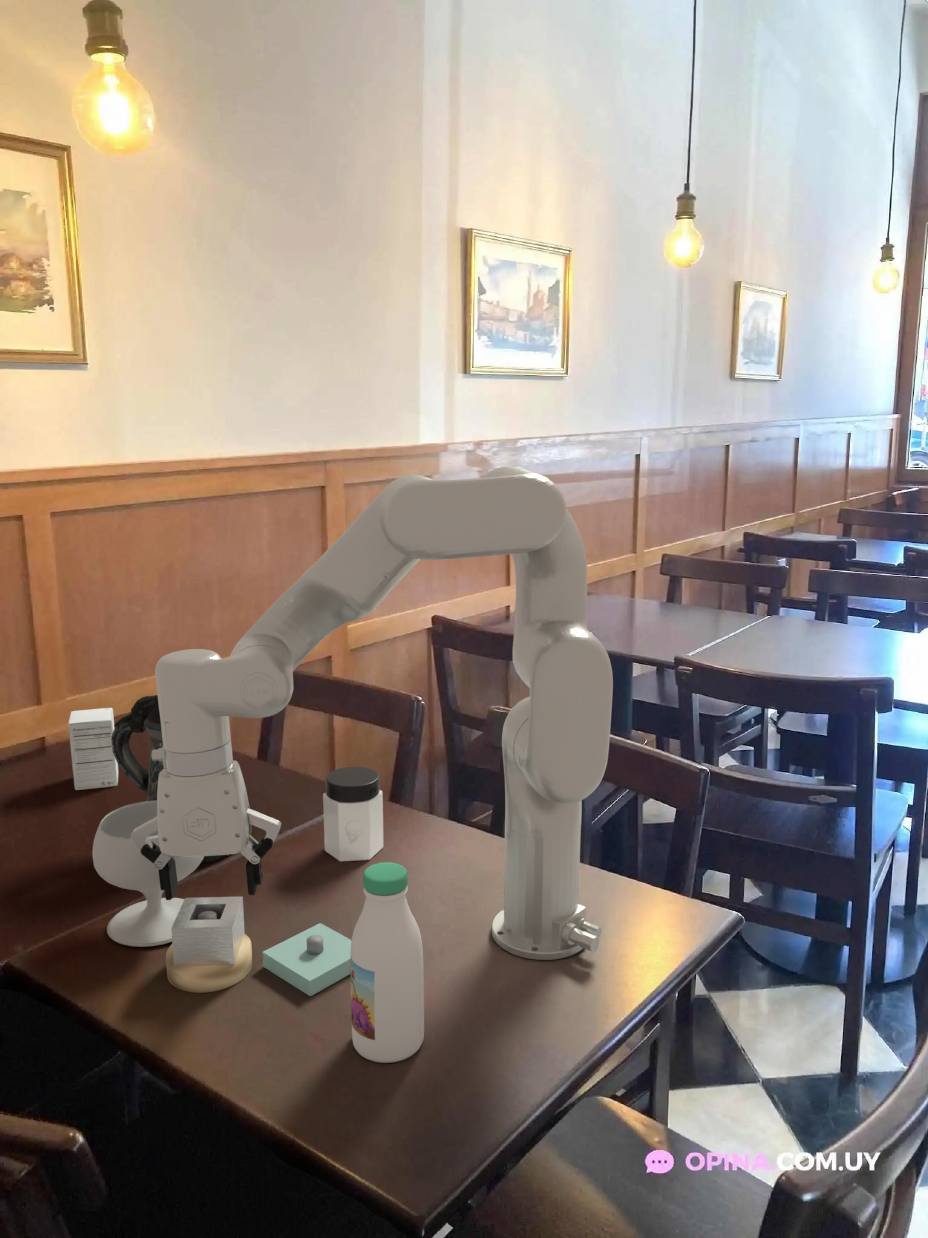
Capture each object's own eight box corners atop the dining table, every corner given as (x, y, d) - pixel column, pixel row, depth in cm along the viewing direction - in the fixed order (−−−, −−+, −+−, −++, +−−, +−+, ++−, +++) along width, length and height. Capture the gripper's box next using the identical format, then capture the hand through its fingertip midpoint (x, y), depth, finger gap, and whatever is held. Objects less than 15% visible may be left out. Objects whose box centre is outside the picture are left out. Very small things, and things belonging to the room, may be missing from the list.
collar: (234, 965, 114) (232, 926, 113) (174, 966, 113) (171, 927, 112) (244, 933, 121) (242, 896, 120) (187, 934, 120) (185, 897, 119)
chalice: (83, 920, 128) (73, 815, 125) (183, 887, 137) (176, 788, 134) (123, 966, 118) (114, 853, 114) (229, 927, 127) (223, 821, 123)
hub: (269, 966, 118) (266, 914, 116) (197, 1003, 111) (193, 948, 109) (221, 936, 124) (218, 886, 123) (151, 969, 117) (147, 917, 116)
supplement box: (76, 776, 178) (70, 710, 175) (119, 771, 180) (114, 706, 177) (73, 791, 171) (67, 723, 168) (118, 786, 173) (112, 719, 170)
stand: (368, 963, 118) (367, 937, 118) (310, 996, 112) (309, 969, 111) (320, 937, 124) (319, 912, 124) (263, 966, 118) (261, 940, 117)
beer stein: (258, 855, 147) (251, 697, 141) (123, 877, 140) (109, 712, 134) (241, 813, 162) (233, 668, 156) (118, 831, 155) (105, 681, 149)
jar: (324, 863, 144) (322, 788, 141) (324, 839, 152) (322, 767, 149) (384, 860, 145) (383, 785, 143) (382, 836, 153) (380, 765, 150)
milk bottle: (424, 1018, 108) (423, 853, 104) (423, 1064, 101) (422, 888, 96) (355, 1019, 108) (350, 854, 103) (349, 1066, 100) (344, 889, 96)
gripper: (113, 773, 108) (130, 912, 111) (269, 765, 108) (281, 903, 112) (132, 749, 115) (148, 880, 119) (278, 741, 116) (289, 872, 120)
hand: (213, 892), depth 115 cm, fingers open, 9 cm apart
